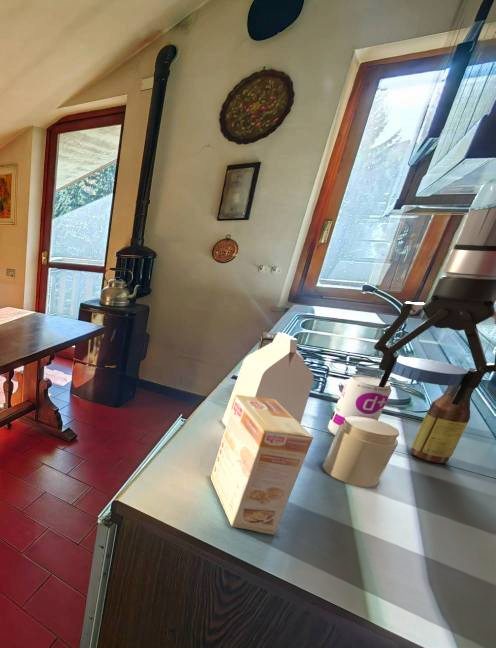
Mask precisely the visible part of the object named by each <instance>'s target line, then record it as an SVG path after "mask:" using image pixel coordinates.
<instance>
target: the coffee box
mask: <svg viewBox="0 0 496 648" xmlns="http://www.w3.org/2000/svg"><path fill="white" fill-rule="evenodd" d="M276 335H277V333H275V332H274V333H273V332H266V331H265V332H264V331H263V332H262V334H261V336H260V340H259V343H258V347H257V350H259V349H261V348H263V347H264V346H266V345H268V344H270V343H272V342H273V340H274V338H275V337H276Z"/></svg>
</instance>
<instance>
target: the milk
mask: <svg viewBox="0 0 496 648" xmlns="http://www.w3.org/2000/svg"><path fill="white" fill-rule="evenodd" d="M276 334H277V335H276V337H275V338H274V340H273V342H272V343H270V344H268V345H266V346H264V347H263V348H261V349H259V350H258V349H257V350H255V351H253V352H252V353H250V354H248V355H247V356H246V357H244V359H243V361H242V364H241V367H240V369H239V373H238V375H237V378H236V381H235V383H234V386H233V390H232V392H231V395H230V398H229V401H228V403H227V406H226V409H225V411H224V415H223V417H222V420H221V423H222V424H223V425H224V427H226V425H227V422H228V418H229V415H230V412H231V408H232V405H233V402H234V398H235V395H243V396H251V397H261V398H269V399H275V400H276V401H277V402H278V403H279V404H280V405H281V406H282V407H283V408H284V409H285V410H286V411H287V412H288V413H289V414H290V415H291V416H292V417H293V418H294V419H295V420H296V421H297V422H298V423H299V424H300V425H302V424H301V423H302V420H303V416H304V414H305V410H306V407H307V404H308V400H309V397H310V394H311V390H312V387H313V383H314V380H315V376H314V373H313V371H312V370H311V368H310V367H309V366H308V365H307V364H306V362H305V361H304V356H303V355H302V354H301V353H300V352H299V351H298V338H295V337H293V336H291V335H289V334H287V333H286V332H277V333H276Z"/></svg>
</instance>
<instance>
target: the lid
mask: <svg viewBox="0 0 496 648" xmlns="http://www.w3.org/2000/svg"><path fill="white" fill-rule="evenodd" d="M391 371H392V372H391V373H393V374H394V375H397V376H399V377H402V378H405V379H408V380H411V381H416V382H421V383H425V384H430V385H437V386H438V385H439V386H446V387H448V386H458V385H461V384H462V382H463V380H464V378H465V376H466V374H467V372H468V370H467V369H465V368H463V367H462V366H461V367H460V366H458V365H455V364H451V363H449V362H443V361H438V360H433V359H427V358H420V357H405V356H404V357H403V356H402V357H398V358H397V359H396V360H395V363H394V365H393V367H392V369H391Z"/></svg>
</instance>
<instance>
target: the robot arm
mask: <svg viewBox="0 0 496 648" xmlns="http://www.w3.org/2000/svg"><path fill="white" fill-rule="evenodd" d="M442 272H443V273H445V275H441V276H440V277H439V278H438V280H437V283H436V285H435V287H434V289H433V292H432V294H431V296H430V298H429V299H428V300H427V301H426V302H425V303H424V302H412V301H406V302H404V303H403V304H402V306H401V308H400V313H399V315H398V316H397V317H396V319H395V320H394V321H393V322H392V323H391V324H390V326H389V327H388V328H387V330H386V331H385V332H384V333H383V335H382V336H381V337H380V338H379V339H378V341H377V342H376V343H375V344H374V346H373V349H374V350H375V351H379V352H381V353H382V354H383V356H382V358H381V360H380V362H379V366H378V370H381V371H384V372H383V375H382V376H381V378H380V379H381V381H380V383H379V386H378V387H382V388H383V387H384V386H385V385H386V383H387V382H388V381H389V378H390V377H391V374H392V373H393V372H392V371H391V369H392V367H393V365H394V363H395V360H396V359H397V358H399V356H400V354H397V353H396V352H398V351H399V350H401V349H402V348H403V347H404V346H406V345H408V344H409V343H410V342H411V341H413V340H415V339H416V338H417V337H418V336H420V335H421V334H423V333H424V332H426V331H428V329H430V328H431V327H434V328H436V329H449V330H453V331H458V332H460V331H464V335H465V337H466V340H467V343H468V347H469V350H470V354H471V357H472V360H473V365H474V367H475V368H474V367H469V368H468V370H467V371H468V372H467V374H466V376H465V378H464V380H463V382H462V384H461V386H460V388H459V389H458V391H457V393H456V395H455V397H454V399H453V401H452V403H451V404H455V405H458V403H459V401H460V399H461V397H462V396H463V394H464V392H465V390H466V388H467V387H468V388H472V389H474V390H475V389H477V388H478V387H479V386H480V384H481V382H482V381H483V379H484V376H485V375H486V374H487V373H491V372H492V373H493V372H496V353H495V354H494V363H492V362H489V363H488V360H487V358H486V354H485V351H484V348H483V345H482V341H481V337H480V334H479V330H478V327H477V325H478V324H481V323H482V322H484V321H486V320H488V319H490V318H492V319H494V324H495V325H496V310H495V303H496V178H491V179H489V180H487V181H486V182H485V183H484V184H483V185H482V186H481V187H480V189H479V191H478V193H476V195H475V198H474V199H473V201H472V204H471V206H469V208H468V212H467V214H466V217H465V219H464V222H463V225H462V227H461V230H460V232H459V234H458V237H457V238H456V242H455V244H454V245H453V248H452V249H451V251H450V253H449V255H448V258H447V260H446V263H445V265H444V267H443V269H442ZM420 310H422V311H423V313H424V315H425V316H426V318H427V319H426V320H425V321H423V322H422V323H421V324H419V325H418V326H416V327H415V328H414V329H413V330H412V331H410V332H409V333H407V334H406V335H405V336H403V337H402V338H400V339H399V340H397V341H396V342H395V343H393V344H392V345H391V346H390V345H388V343H389V341H390V340H391V339H392V338H393V337H394V335H395V334H396V333H397V332H398V331H399V329H401V327H402V326H403V325H404V324H405V322H406V321H407V320H408V319H409V317H410V316H411V315H415V314H417V312H418V311H420Z"/></svg>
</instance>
